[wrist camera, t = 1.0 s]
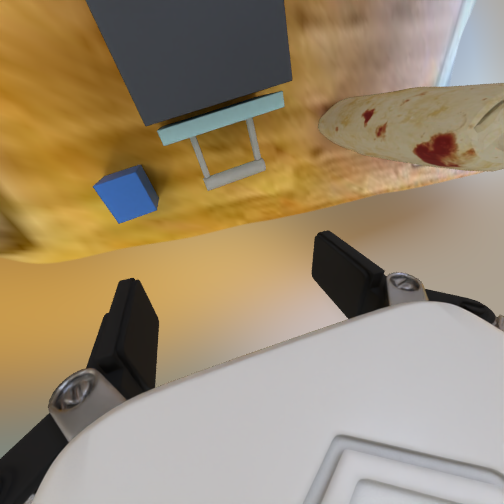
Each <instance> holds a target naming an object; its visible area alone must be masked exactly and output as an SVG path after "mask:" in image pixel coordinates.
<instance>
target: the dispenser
mask: <svg viewBox="0 0 504 504" xmlns="http://www.w3.org/2000/svg"><path fill="white" fill-rule="evenodd" d="M86 2H87V4H88V6H89V9H90V11H91V13H92V15H93V17H94V19H95V21H96V23H97V25H98V28H99V30H100V32H101V34H102V36H103V38H104V40H105V42H106V44H107V46H108V49H109V51H110V53H111V55H112V57H113V59H114V61H115V63H116V65H117V68H118V70H119V72H120V74H121V76H122V78H123V80H124V82H125V84H126V86H127V89H128V91H129V93H130V95H131V97H132V99H133V101H134V103H135V105H136V107H137V110H138V112H139V114H140V116H141V118H142V120H143V122H144V124H145V126H149V125H152V124H155V123H158V122H162V121H165V120H168V119H171V118H174V117H178V116H181V115H184V114H187V113H190V112H193V111H197V110H200V109H203V108H206V107H209V106H213V105H216V104H219V103H222V102H225V101H229V100H232V99H235V98H238V97H241V96H245V95H248V94H251V93H254V92H257V91H260V90H264V89H267V88H270V87H273V86H276V85H280V84H283V83H286V82H289V81H292V72H291V62H290V53H289V44H288V35H287V25H286V16H285V7H284V0H86Z"/></svg>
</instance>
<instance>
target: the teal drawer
mask: <svg viewBox="0 0 504 504" xmlns="http://www.w3.org/2000/svg"><path fill="white" fill-rule="evenodd" d="M282 107H284V99H283V91H280V92H275V93H271V94H267V95H262V96H258V97H254V98H251V99H248V100H244V101H241V102H238V103H235V104H232V105H229V106H225V107H222V108H219V109H216V110H213V111H210V112H206V113H203V114H200V115H197V116H194V117H191V118H187V119H184V120H181V121H178V122H175V123H172V124H169V125H165V126H162V127H161V128H160V129H159V130H158V131H157V132H158V134H159V136H160V138H161V141H162V143H163V145H164V146H166V145H169V144H172V143H175V142H178V141H181V140H184V139H187V138H190V140H191V143H192V145H193V148H194V151H195V153H196V156H197V159H198V161H199V164H200V166H201V169H202V172H203V174H204V177H205V178H203V180H204V182H205V185H206V187H207V190H208V191H209V190H212V189H215V188H218V187H220V186H223V185H226V184H229V183H232V182H234V181H237V180H240V179H243V178H246V177H248V176H251V175H254V174H257V173H260V172H262V171H265V170H266V166H265V162H264V160H263V159H262V158H261V156H260V151H259V146H258V142H257V137H256V132H255V128H254V123H253V118H252V117H255V116H258V115H261V114H264V113H267V112H270V111H273V110H276V109H279V108H282ZM245 119H246V124H247V128H248V132H249V137H250V141H251V145H252V150H253V154H254V158H255V160H254V161H251V162H249V163H246V164H243V165H240V166H237V167H234V168H231V169H229V170H226V171H223V172H220V173H217V174H214V175H212V176H210V174H209V171H208V169H207V166H206V163H205V160H204V158H203V155H202V152H201V149H200V147H199V144H198V141H197V138H196V135H199V134H203V133H206V132H209V131H212V130H215V129H218V128H221V127H224V126H227V125H230V124H233V123H236V122H239V121H242V120H245Z"/></svg>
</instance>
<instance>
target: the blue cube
mask: <svg viewBox="0 0 504 504" xmlns="http://www.w3.org/2000/svg"><path fill="white" fill-rule="evenodd" d="M93 188H94V189H95V190H96V192H97V193H98V195H99V196H100V198H101V199H102V200H103V202H104V203H105V205H106V206H107V208H108V209H109V210H110V212H111V213H112V215H113V216H114V217H115V219H116V220H117V222H118V223H119V224H120V223H123V222H125V221H128V220H131V219H134V218H137V217H139V216H142V215H145V214H148V213H151V212H153V211H156V210H157V207H158V201H159V197H158V196H157V194H156V192H155V190H154V188H153V186H152V184H151V182H150V181H149V179H148V177H147V175H146V173H145V171H144V169H143V168H142V166H141V164H140V165H137V166H134V167H131V168H128V169H125V170H122V171H119V172H116V173H113V174H110V175H107V176H104V177H103V178H102V179H101V180H99V181H98V182H97V183H96V184H95V185H94V186H93Z"/></svg>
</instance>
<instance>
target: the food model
mask: <svg viewBox="0 0 504 504" xmlns="http://www.w3.org/2000/svg"><path fill="white" fill-rule="evenodd" d="M318 128H319V131H320V132H321V133H322V134H323V135H324V136H325V137H326V138H328V139H329V140H330V141H332V142H333V143H335V144H337V145H339V146H341V147H344V148H347V149H349V150H353V151H355V152H357V153H359V154H362V155H366V156H371V157H376V158H382V159H387V160H393V161H399V162H406V163H412V164H418V165H424V166H431V167H439V168H448V169H457V170H468V171H496V170H500V169H504V83H496V84H480V85H467V86H452V87H417V88H409V89H404V90H399V91H394V92H388V93H381V94H374V95H367V96H357V97H352V98H347V99H344V100H341V101H339V102H338V103H336V104H335V105H333V106H332V107H331V108H330V109H329V110H328V111H327V112H326V113H325V114H324V115H323V116H322V117H321V118H320V120H319V124H318Z"/></svg>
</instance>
